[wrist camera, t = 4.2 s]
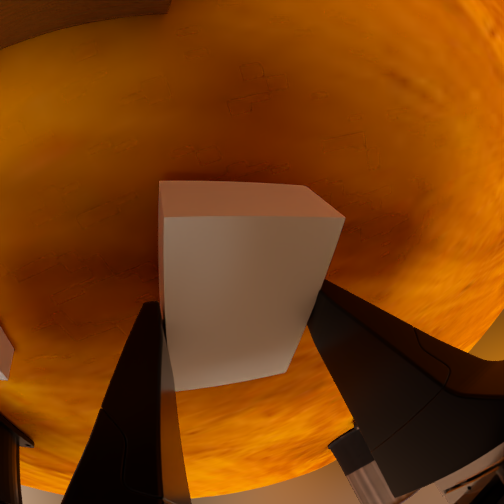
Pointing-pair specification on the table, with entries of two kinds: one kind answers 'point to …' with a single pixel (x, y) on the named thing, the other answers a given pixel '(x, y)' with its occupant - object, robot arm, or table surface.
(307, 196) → the block
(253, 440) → the table surface
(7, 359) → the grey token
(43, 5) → the grey hollow block
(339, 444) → the milk frother
